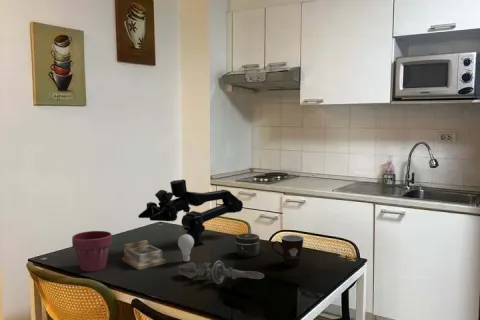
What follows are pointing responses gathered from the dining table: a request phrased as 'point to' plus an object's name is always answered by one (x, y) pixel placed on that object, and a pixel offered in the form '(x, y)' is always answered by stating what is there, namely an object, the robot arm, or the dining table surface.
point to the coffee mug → (291, 249)
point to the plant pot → (92, 249)
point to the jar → (247, 245)
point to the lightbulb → (186, 246)
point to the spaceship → (216, 272)
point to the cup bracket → (142, 255)
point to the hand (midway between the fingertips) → (144, 217)
